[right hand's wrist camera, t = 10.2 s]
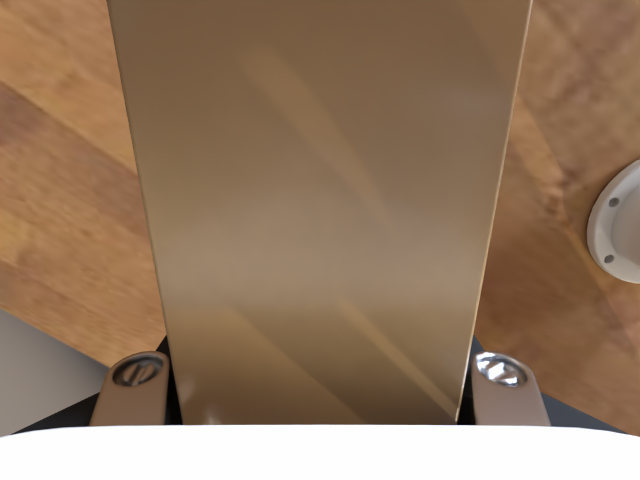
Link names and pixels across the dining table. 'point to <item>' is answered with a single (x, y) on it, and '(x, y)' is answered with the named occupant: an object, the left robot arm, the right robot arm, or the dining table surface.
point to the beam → (319, 197)
